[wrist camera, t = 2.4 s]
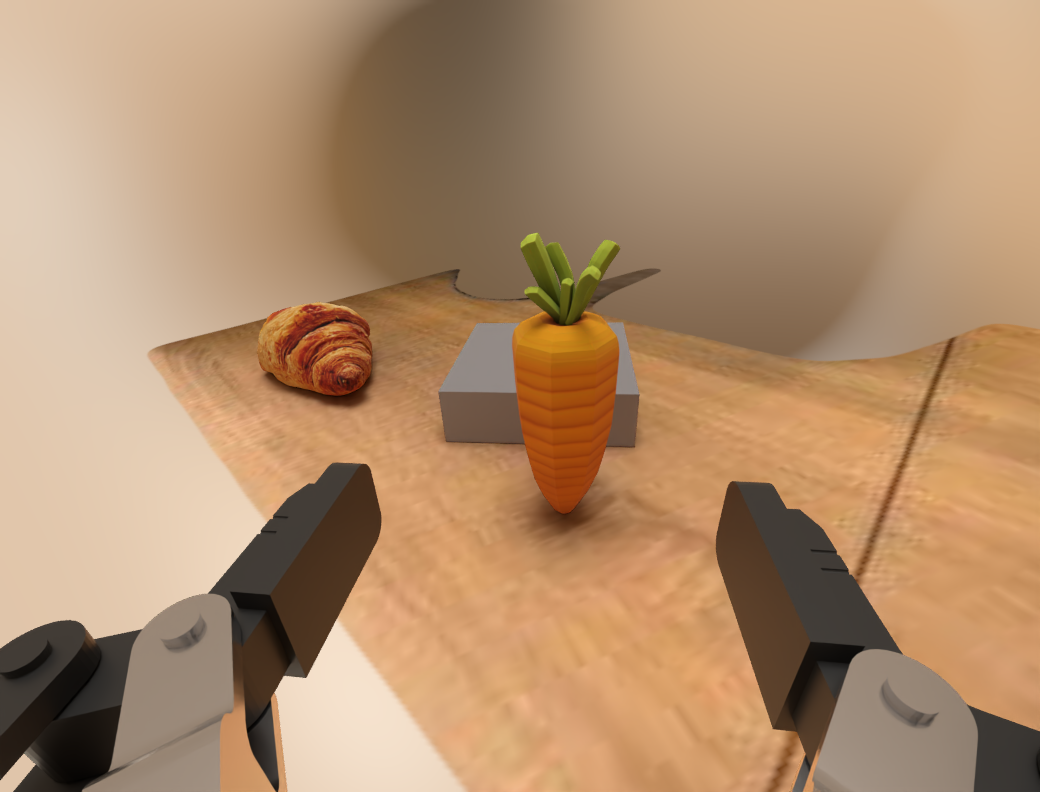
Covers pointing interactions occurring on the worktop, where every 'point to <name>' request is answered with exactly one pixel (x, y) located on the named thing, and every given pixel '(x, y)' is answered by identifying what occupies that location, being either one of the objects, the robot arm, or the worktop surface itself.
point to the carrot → (565, 373)
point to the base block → (492, 391)
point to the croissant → (317, 348)
